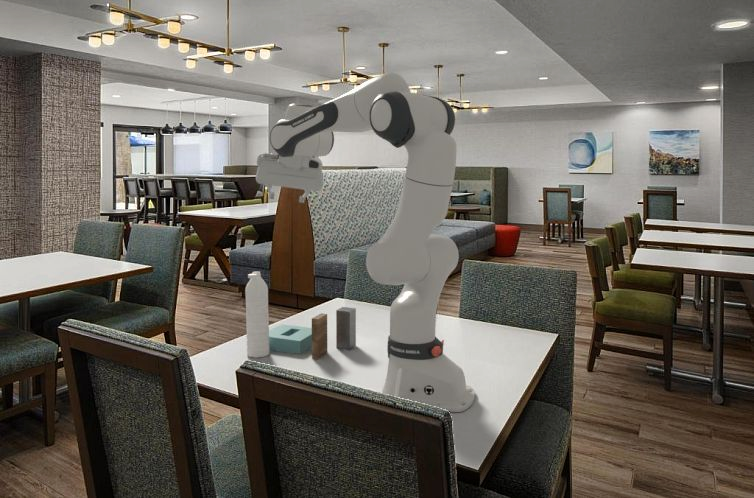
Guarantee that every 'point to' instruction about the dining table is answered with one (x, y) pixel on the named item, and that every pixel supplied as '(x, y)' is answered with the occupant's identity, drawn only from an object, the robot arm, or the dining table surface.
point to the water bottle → (257, 316)
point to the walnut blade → (319, 336)
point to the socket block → (290, 338)
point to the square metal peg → (346, 328)
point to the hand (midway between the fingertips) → (286, 200)
